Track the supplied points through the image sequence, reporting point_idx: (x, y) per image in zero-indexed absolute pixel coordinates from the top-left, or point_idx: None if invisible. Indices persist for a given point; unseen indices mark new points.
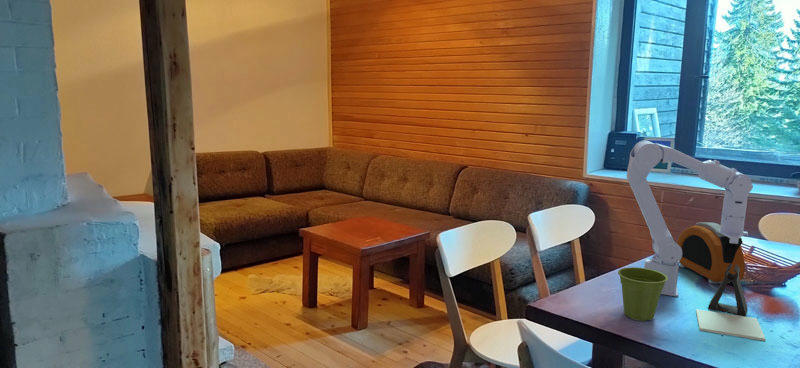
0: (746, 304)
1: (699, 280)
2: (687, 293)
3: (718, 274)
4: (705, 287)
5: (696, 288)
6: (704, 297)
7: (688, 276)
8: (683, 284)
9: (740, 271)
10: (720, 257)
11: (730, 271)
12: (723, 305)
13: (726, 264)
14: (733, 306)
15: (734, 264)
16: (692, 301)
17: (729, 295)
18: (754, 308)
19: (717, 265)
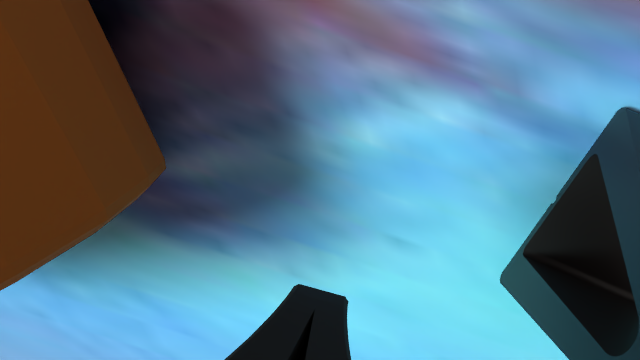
0: (631, 127)
1: None
2: (365, 332)
3: (151, 179)
4: (224, 210)
5: (262, 262)
6: (412, 275)
7: None
8: (218, 301)
9: (48, 8)
10: (34, 235)
11: (95, 100)
12: (571, 239)
13: (73, 161)
14: (584, 185)
15: (32, 86)
16: (495, 354)
17: (333, 120)
18: (583, 41)
19: (107, 222)
